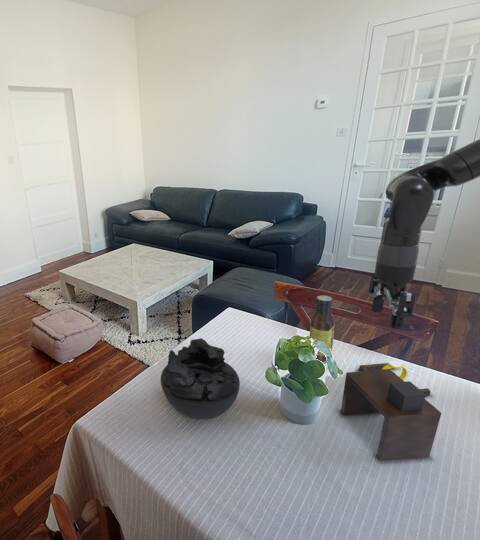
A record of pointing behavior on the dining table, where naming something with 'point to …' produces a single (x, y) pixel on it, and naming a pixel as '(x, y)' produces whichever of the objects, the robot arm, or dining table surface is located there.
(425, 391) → the low rack
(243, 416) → the dining table surface
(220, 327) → the dining table surface
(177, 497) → the dining table surface
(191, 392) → the bowl of black rocks
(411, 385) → the charcoal block
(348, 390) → the high shelf
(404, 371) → the watch
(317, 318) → the sauce bottle
